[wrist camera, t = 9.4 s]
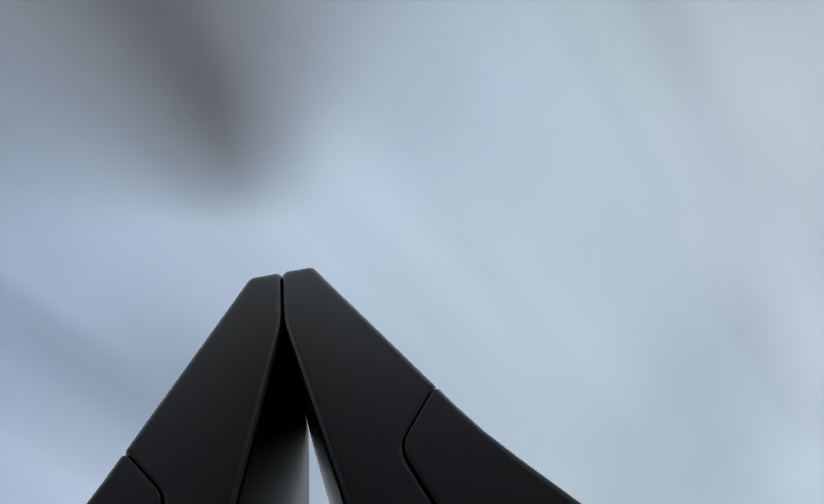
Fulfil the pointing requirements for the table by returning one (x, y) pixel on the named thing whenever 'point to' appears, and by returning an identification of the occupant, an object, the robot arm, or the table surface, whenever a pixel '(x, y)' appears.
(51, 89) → the table surface
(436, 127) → the table surface
